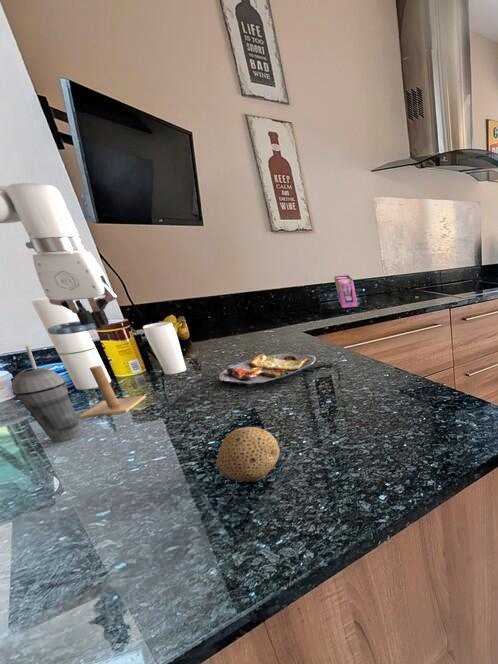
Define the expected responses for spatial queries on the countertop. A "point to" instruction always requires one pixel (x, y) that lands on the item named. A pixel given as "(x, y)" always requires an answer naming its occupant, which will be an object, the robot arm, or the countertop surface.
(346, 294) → the gum box
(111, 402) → the ring stand
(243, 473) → the natural sponge
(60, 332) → the ring
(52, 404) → the beverage cup
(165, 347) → the drinking glass
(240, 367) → the food plate
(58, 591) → the countertop surface
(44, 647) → the countertop surface
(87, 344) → the cylindrical container
